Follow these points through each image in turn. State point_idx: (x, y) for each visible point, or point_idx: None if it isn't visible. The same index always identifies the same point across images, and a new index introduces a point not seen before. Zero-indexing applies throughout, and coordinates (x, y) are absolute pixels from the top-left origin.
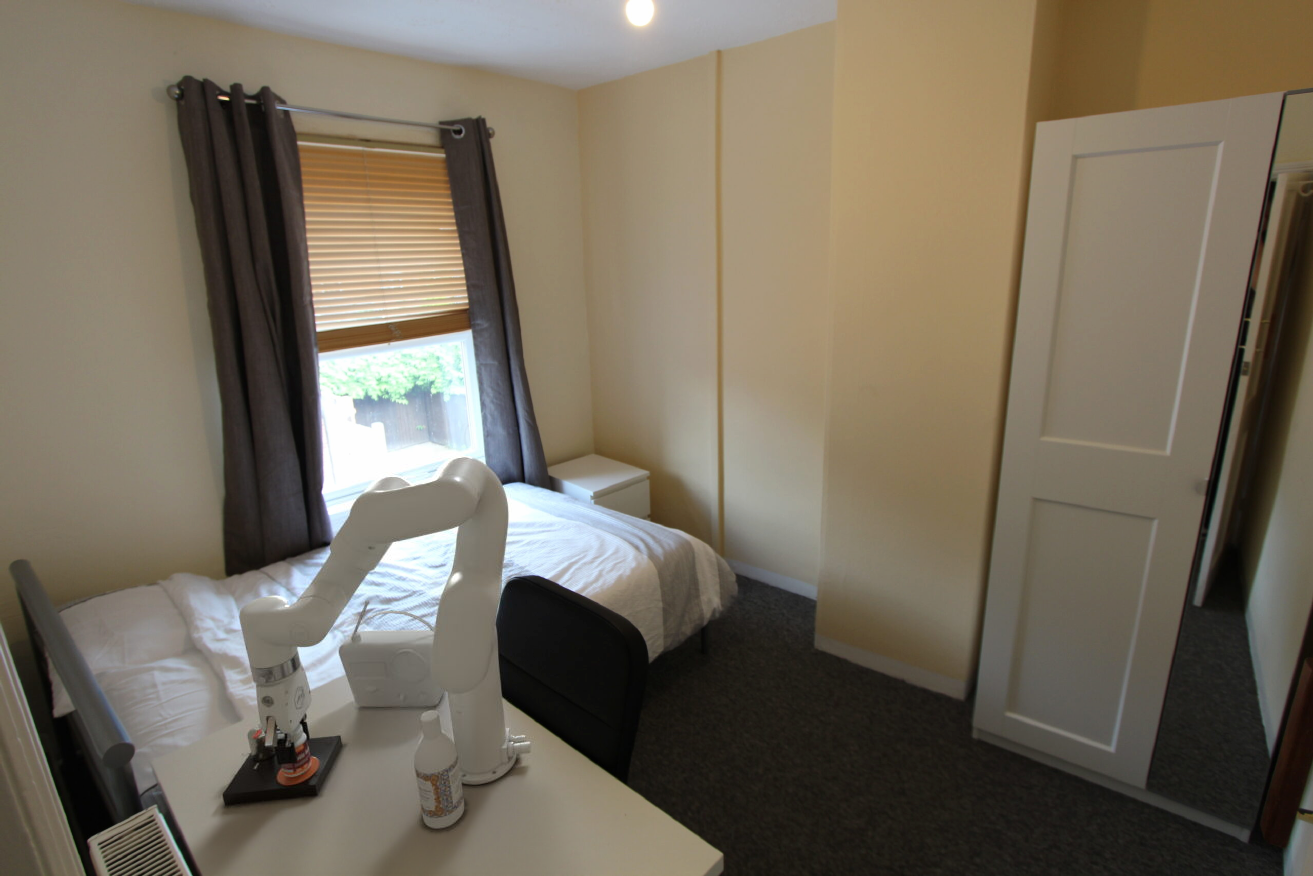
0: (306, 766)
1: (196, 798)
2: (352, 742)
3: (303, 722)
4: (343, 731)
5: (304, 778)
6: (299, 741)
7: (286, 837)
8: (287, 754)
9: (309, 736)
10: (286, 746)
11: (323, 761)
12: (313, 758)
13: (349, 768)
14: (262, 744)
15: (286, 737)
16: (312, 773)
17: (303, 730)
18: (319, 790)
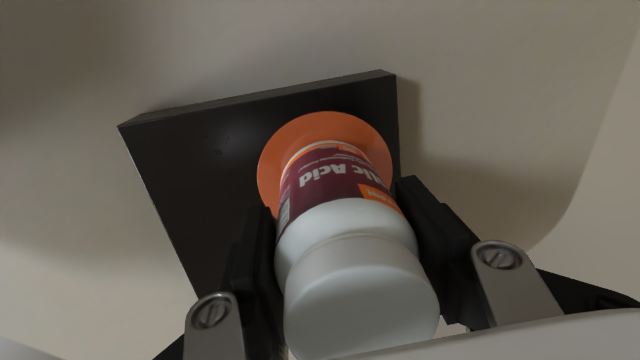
0: (345, 146)
1: None
2: (112, 84)
3: (243, 292)
4: (70, 153)
5: (367, 133)
6: (376, 220)
7: (534, 74)
8: (465, 224)
9: (247, 211)
10: (516, 256)
11: (273, 113)
12: (266, 159)
13: (246, 16)
14: (279, 347)
15: (556, 307)
16: (343, 117)
17: (266, 255)
18: (363, 73)
